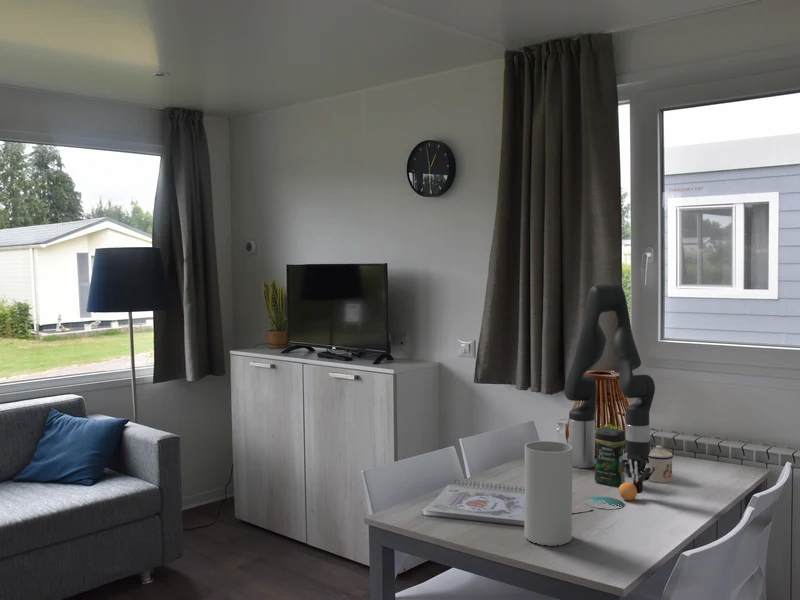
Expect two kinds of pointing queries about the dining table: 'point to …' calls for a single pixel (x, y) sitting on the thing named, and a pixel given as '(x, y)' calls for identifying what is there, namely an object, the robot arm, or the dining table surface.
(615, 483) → the coffee jar
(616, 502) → the teal mark
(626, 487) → the ball
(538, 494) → the cylinder vase
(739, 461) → the dining table surface
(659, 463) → the teacup with lid
